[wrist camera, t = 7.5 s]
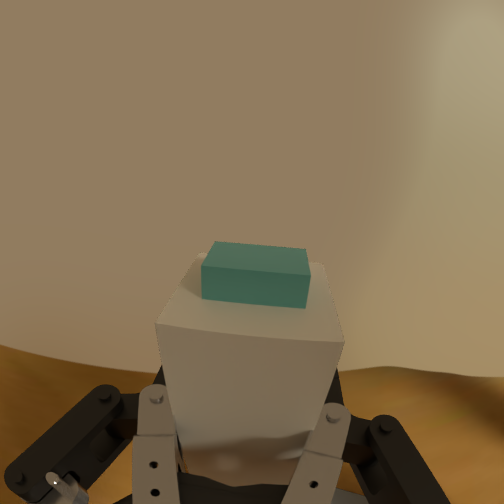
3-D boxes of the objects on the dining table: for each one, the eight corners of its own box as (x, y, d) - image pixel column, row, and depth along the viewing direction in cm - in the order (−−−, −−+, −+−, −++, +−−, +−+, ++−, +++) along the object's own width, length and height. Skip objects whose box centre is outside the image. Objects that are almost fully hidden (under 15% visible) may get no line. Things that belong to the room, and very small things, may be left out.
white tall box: (209, 432, 15) (199, 226, 10) (283, 440, 15) (326, 237, 10) (195, 493, 11) (150, 286, 6) (280, 502, 11) (354, 306, 6)
